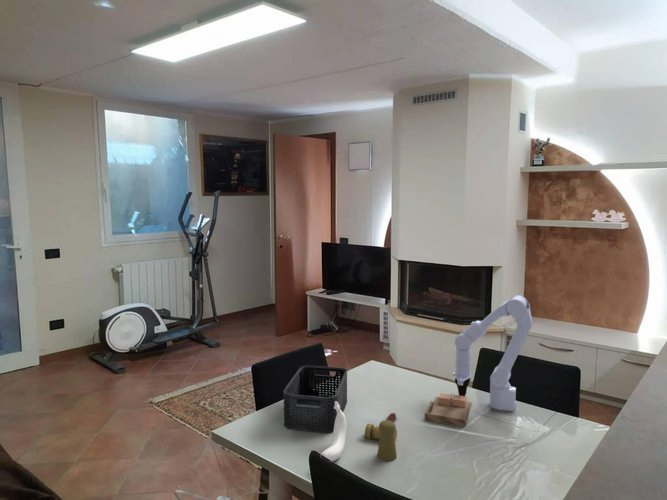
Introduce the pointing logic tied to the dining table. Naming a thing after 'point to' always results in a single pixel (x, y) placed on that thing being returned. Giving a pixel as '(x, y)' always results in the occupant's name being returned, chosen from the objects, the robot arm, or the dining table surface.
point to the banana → (337, 436)
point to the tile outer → (445, 399)
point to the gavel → (374, 431)
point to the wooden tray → (448, 413)
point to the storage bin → (314, 399)
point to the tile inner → (460, 401)
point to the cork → (387, 441)
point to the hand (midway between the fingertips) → (462, 396)
